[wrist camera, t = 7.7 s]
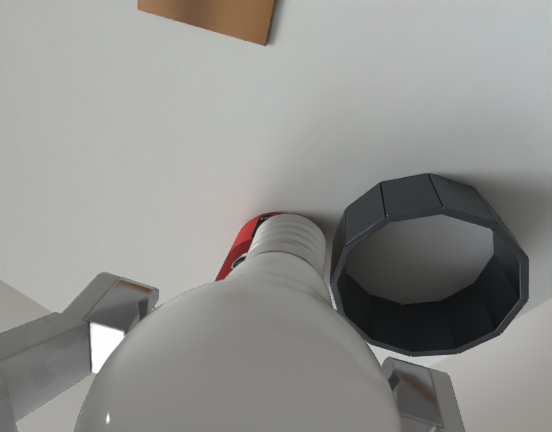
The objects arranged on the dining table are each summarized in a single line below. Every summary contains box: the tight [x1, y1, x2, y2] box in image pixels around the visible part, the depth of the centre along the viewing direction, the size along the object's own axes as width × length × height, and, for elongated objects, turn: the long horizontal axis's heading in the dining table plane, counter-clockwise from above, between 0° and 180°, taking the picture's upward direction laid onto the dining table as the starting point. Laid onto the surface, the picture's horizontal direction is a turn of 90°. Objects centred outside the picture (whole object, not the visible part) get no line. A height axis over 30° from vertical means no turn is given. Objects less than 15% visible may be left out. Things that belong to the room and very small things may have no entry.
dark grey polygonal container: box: [330, 173, 529, 357], centre depth 32 cm, size 14×14×6 cm
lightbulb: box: [74, 214, 403, 432], centre depth 10 cm, size 6×6×11 cm
